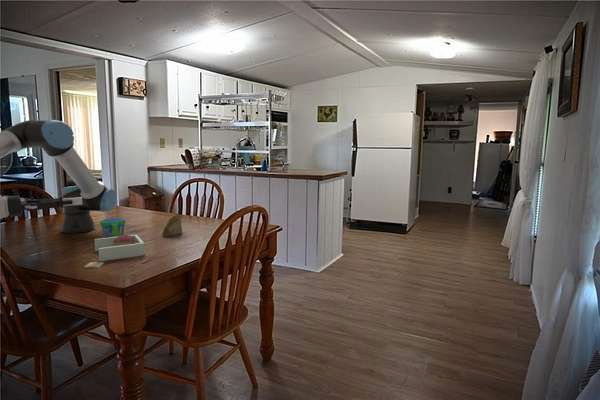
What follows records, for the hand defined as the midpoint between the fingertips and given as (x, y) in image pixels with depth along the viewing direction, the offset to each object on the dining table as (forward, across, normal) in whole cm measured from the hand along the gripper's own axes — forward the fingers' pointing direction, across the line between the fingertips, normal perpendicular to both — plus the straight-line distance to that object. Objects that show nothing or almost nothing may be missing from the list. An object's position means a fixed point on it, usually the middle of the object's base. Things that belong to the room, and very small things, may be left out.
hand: (82, 200), depth 155 cm
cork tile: (+2, +14, -23) cm, 27 cm away
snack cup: (+13, -21, -24) cm, 34 cm away
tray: (+12, 0, -23) cm, 26 cm away
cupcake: (+14, 0, -23) cm, 27 cm away
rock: (+39, -21, -24) cm, 51 cm away
